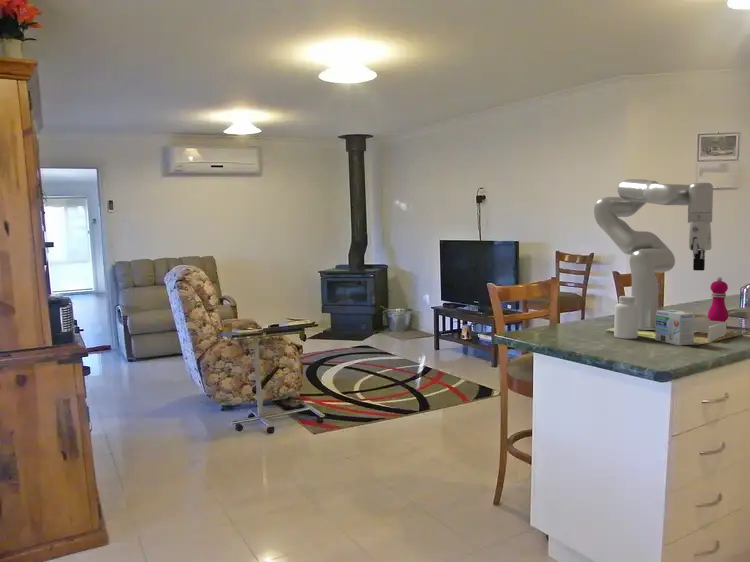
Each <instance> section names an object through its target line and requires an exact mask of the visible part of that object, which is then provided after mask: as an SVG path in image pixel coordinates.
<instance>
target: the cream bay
mask: <svg viewBox="0 0 750 562" xmlns="http://www.w3.org/2000/svg"><path fill="white" fill-rule="evenodd" d="M726 323H727V322H726V321H725V322H720V321H710V319H709V320H707V319H698V318H695V323H694V331H697V332H707V333H708V334H707V342H709V343H710V342H712V341H713V342H714V341H715V339H716V340H718V339H720V338H719V337H720V336H722V335H724V334H726V335H727V327H726ZM717 338H718V339H717Z"/></svg>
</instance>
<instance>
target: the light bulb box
mask: <svg viewBox="0 0 750 562" xmlns="http://www.w3.org/2000/svg"><path fill="white" fill-rule="evenodd" d="M695 317H696V313H695V312H688V311H681V310H676V309H675V310H674V309H663V310H659V309H658V310H657V311H656V330H655V332H654V333H655V338H654V340H655V341H658V342H662V343H666V344H667V343H668V344H670V345H676V346H686V345H687V346H688V345H689V346H690V345H694V344H695V343H694V342H695V332H694V323H695V319H696V318H695Z"/></svg>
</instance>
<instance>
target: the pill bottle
mask: <svg viewBox="0 0 750 562" xmlns="http://www.w3.org/2000/svg"><path fill="white" fill-rule="evenodd" d="M634 301H635V297H633V296H631V295H620V296H619V297H618V302H619V303H617V304H615V305H614V320H613V326H614V328H613V336H614V337H615V338H617V339H623V340H624V339H625V340H627V339H628V340H630V339H631V340H634V339H638V336H639V335H638V334H639V333H638V332H639V330H638V306H637V305H636V304H634Z"/></svg>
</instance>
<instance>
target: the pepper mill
mask: <svg viewBox="0 0 750 562" xmlns="http://www.w3.org/2000/svg"><path fill="white" fill-rule="evenodd" d="M722 280H723V278H722V277H720V276H718V277H717V278H716V280H715V281H713V282H712V283H711V284H710V288H709V289H710V290H711V292H712V293H711V297H712V303H711V304H710V305H711V306H710V307H709V310H708V312H707V318H708V319H709V320H710V321H720V322H726V321H728V319H729V312H728V309H727V308H726V307H727V306H726V303H725V301H726V300H725V298H726V297H727V293H726V292H728V289H729V286H728V284H727V283H726V282H725V281H722ZM727 326H728V323H727V322H726V328H727Z"/></svg>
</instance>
